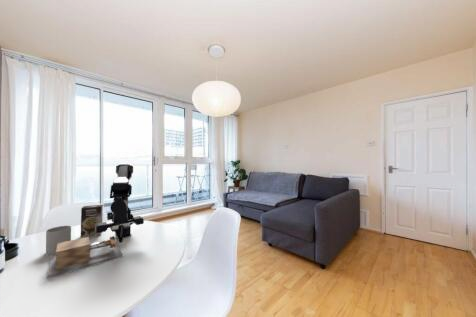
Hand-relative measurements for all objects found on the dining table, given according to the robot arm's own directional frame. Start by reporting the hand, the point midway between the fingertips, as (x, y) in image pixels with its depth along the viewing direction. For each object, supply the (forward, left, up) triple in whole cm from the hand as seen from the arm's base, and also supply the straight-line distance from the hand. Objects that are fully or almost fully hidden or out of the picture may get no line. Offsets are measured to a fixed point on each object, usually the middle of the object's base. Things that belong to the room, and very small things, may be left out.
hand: (120, 242), depth 88 cm
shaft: (+9, 0, -1) cm, 9 cm away
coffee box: (+8, -31, -4) cm, 32 cm away
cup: (+21, -18, -4) cm, 28 cm away
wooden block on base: (+12, 0, -4) cm, 12 cm away
